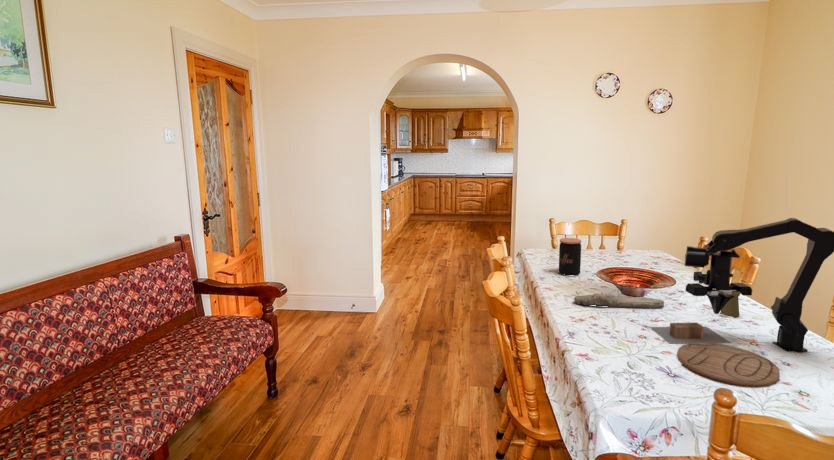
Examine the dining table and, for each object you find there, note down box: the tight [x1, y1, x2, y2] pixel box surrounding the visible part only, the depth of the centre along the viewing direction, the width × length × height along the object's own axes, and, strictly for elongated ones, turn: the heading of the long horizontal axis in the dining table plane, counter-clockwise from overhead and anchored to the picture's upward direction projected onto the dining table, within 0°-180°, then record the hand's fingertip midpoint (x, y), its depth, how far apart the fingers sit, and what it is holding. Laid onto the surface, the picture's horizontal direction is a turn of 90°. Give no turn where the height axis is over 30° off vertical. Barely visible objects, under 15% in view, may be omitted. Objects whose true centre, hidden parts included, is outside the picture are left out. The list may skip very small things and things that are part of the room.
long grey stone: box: [573, 293, 665, 309], centre depth 184 cm, size 35×5×10 cm
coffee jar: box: [558, 237, 582, 276], centre depth 230 cm, size 11×11×18 cm
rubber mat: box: [649, 326, 732, 345], centre depth 153 cm, size 14×20×1 cm
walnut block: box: [669, 322, 704, 339], centre depth 151 cm, size 4×4×9 cm
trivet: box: [676, 342, 781, 388], centre depth 132 cm, size 25×25×2 cm
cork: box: [719, 292, 741, 318], centre depth 169 cm, size 6×6×11 cm
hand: (715, 313), depth 150 cm, fingers closed
